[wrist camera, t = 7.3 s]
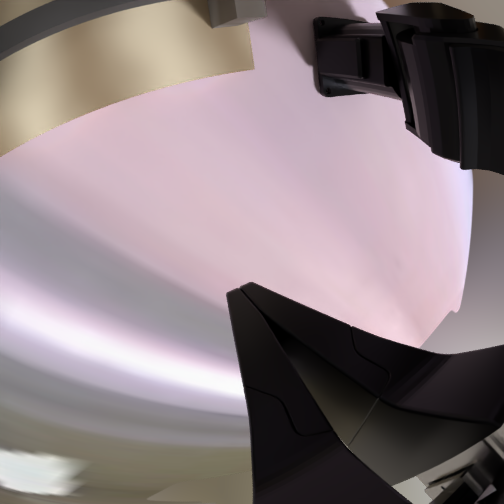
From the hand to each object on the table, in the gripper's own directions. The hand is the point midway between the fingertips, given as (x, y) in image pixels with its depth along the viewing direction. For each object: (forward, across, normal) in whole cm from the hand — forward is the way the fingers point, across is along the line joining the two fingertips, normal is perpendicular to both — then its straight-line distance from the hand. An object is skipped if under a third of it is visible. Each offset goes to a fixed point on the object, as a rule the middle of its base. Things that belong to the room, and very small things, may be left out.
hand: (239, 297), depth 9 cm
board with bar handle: (+12, +8, -11) cm, 18 cm away
